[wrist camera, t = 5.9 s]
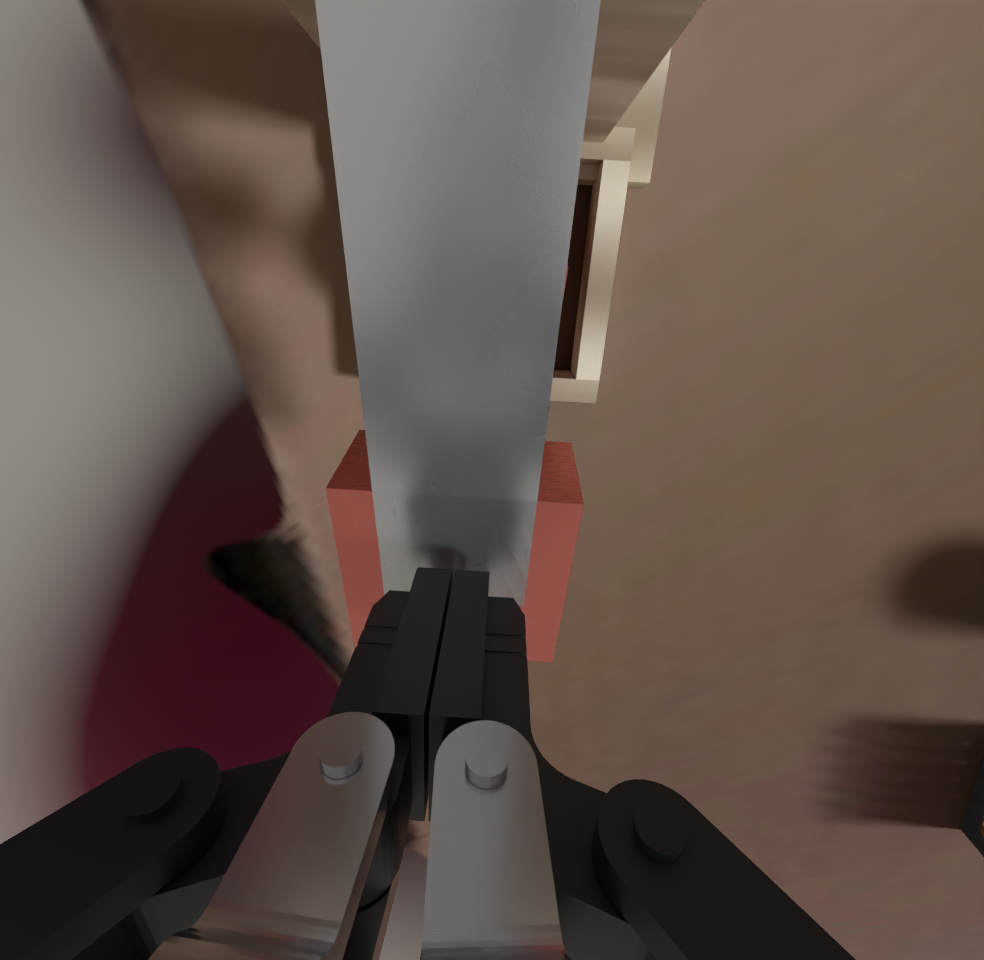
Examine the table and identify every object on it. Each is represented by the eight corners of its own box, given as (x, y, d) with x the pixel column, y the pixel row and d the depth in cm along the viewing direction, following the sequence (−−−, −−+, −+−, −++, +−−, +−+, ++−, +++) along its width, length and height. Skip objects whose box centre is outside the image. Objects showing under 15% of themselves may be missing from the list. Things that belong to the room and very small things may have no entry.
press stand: (339, 11, 17) (-601, -1473, 3) (666, 29, 17) (1578, -1391, 3) (360, 379, 23) (89, 567, 8) (609, 394, 23) (799, 612, 8)
